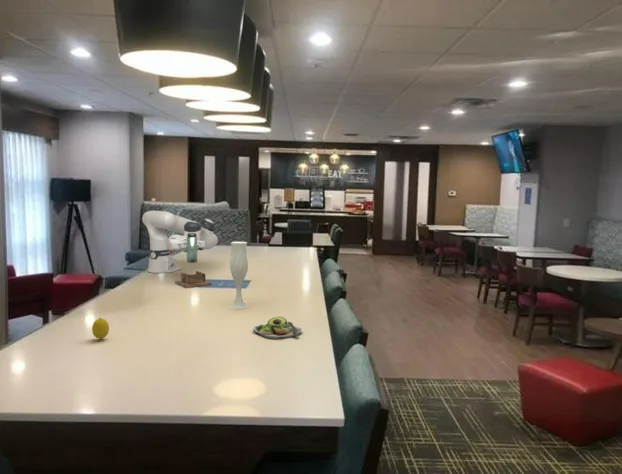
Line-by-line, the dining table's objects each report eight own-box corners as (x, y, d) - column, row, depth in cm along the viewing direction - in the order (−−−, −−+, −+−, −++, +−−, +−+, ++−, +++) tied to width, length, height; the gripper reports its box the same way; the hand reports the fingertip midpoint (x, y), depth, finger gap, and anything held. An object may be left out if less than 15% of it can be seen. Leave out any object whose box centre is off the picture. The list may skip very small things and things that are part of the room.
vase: (250, 305, 237) (250, 241, 234) (246, 309, 229) (246, 243, 226) (231, 304, 238) (231, 241, 235) (227, 308, 230) (227, 243, 227)
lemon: (111, 340, 181) (111, 318, 180) (96, 343, 177) (95, 320, 176) (105, 336, 185) (105, 315, 184) (90, 339, 181) (89, 317, 180)
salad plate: (314, 336, 191) (314, 324, 191) (274, 344, 181) (274, 331, 180) (285, 324, 207) (286, 313, 206) (247, 331, 196) (247, 319, 195)
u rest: (175, 283, 286) (175, 272, 285) (199, 281, 295) (199, 270, 294) (186, 288, 274) (185, 276, 273) (211, 285, 283) (211, 273, 282)
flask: (187, 261, 285) (187, 232, 283) (197, 261, 286) (197, 233, 284) (186, 262, 279) (186, 233, 278) (196, 262, 280) (196, 234, 278)
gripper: (199, 247, 298) (209, 250, 287) (166, 250, 286) (175, 252, 275) (199, 237, 298) (209, 239, 287) (165, 238, 286) (175, 241, 275)
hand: (192, 246), depth 281 cm, fingers closed on flask, 6 cm apart
